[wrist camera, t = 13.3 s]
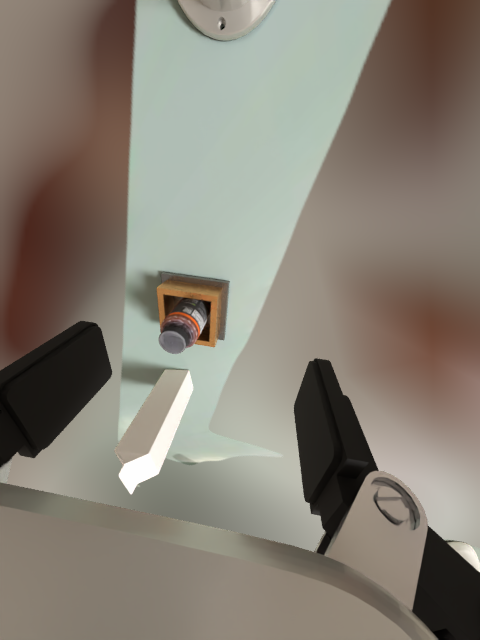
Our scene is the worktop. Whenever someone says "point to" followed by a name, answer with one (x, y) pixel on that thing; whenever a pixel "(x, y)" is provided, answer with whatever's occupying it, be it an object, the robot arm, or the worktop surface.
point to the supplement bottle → (183, 325)
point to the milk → (153, 428)
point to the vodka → (466, 553)
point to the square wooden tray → (200, 289)
